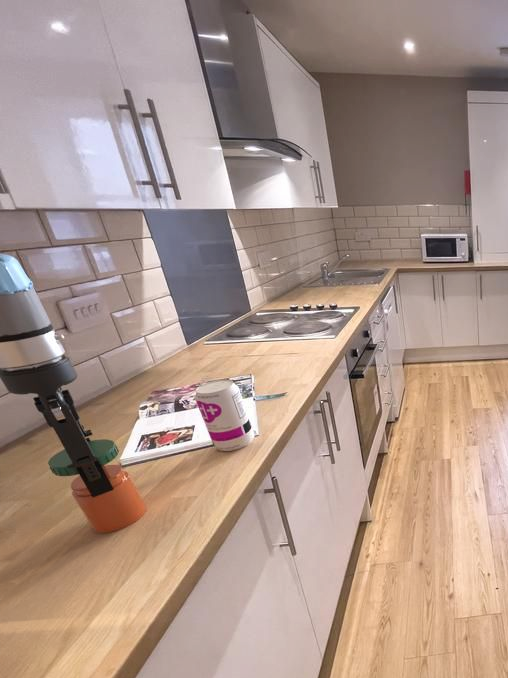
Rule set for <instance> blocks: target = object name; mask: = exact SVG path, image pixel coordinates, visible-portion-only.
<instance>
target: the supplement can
mask: <svg viewBox="0 0 508 678" xmlns="http://www.w3.org/2000/svg"><path fill="white" fill-rule="evenodd" d="M194 400H195V402H196V404H197V407H198V410H199V412H200V416H201V418H202V420H203V422H204V425H205V428H206V430H207V433H208V436H209V437H210V441H211V442H212V445H213V448H214V449H216V450H218V451H222V452H232V451H237V450H239V449H240V450H241V449H242V448H244V447H246V446H248V445H249V444H250V443H252V441H253V439H254V438H255V432H254V428H253V426H252V423H251V420H250V417H249V414H248V411H247V409H246V406H245V403H244V400H243V396H242V392H241V391H240V388H239V386H238V385H237V384H235V383H234V381H233V380H232V379H218V380H212V381H209V382H205V383H203V384H202V385H199V386H198V387H197V388H196V389H195V396H194Z"/></svg>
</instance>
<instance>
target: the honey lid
mask: <svg viewBox="0 0 508 678" xmlns="http://www.w3.org/2000/svg"><path fill="white" fill-rule="evenodd" d="M88 444H89V446H90V448H91V450H92V452H93V454H94V455H96V456H97V458H98V460H99V462H100V464H101V466H106V465H108V464H109V463H111V462H112V461H114V460H115V459H116V458H117V457H118V456H119V452H120V451H119V448H118V446H117V444H116V442H114V441H113V440H111V439H106V438H105V439H104V438H103V439H93V440H91V441H88ZM47 464H48V466H49V470H50V471H51V473H52V474H53V475H55V476H57V477H72V476H77V475H78V476H79V473H78V471H77V470H76V468H75V467H74V468H71V469H69V468H68V465H71V464H72V461H71V459H70V457H69V456H68V454H67V452H66V450H65V448H64V449H62V450H61V451H58V452H57V453H55V454H54V455H52V456H51V457H50V458H49V459H48V461H47Z"/></svg>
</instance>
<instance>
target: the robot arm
mask: <svg viewBox="0 0 508 678" xmlns="http://www.w3.org/2000/svg"><path fill="white" fill-rule="evenodd" d="M64 340H65V336H64V335H63V334H62V333H58V334H56V331H55V329H54V326H53V325H52V323H51V320H50V318H49V316H48V314H47V312H46V310H45V308H44V306H43V304H42V302H41V299H40V298H39V296H38V294H37V292H36V290H35V288H34V283H33V281H32V280H31V279H30V278H29V277H28V275H27V274H26V272H25V270H24V269H23V267H22V266H21V264H20V262H19V260H18V259H17V258H15V257H14V256H12V255H9V254H5V253H0V380H1V382H2V384H3V385H4V387H5V388H6V390H7V392H9V393H11V394H12V395H18V396H19V395H21V396H23V395H29V394H33V395H35V394H36V395H37V396H35V397H33V398H32V399H33V401H34V406H35V407H36V409H37V411H38V412H39V413H41V414H42V416H43V418H44V419H45V420H44V421H46V423H47V425H48V427H50V428H53V431H54V432H55V434H56V435H57V438H58V439H59V441H60V443H61V445H62V447H63V448H64V449H65V450H66V452H67V454H68V456H69V457H70V459H71V461H72V464H71V465H68V468H69V469H71V468H74V467H75V468H76V470H77V471H78V473H79V474H78V476H80V477H81V478H82V480H83V482H84V483H85V485H86V487H87V489H88V490H89V492H90V494H91V496H92V497H96V496H99V495H101V494H104V493H106V492H109V491H112V490H114V488H113V486H112V484H111V482H110V481H109V479H108V477H107V475H106V473H105V471H104V469H103V468H102V466H101V464H100V462H99V460H98V458H97V456H96V455H94V454H93V452H92V450H91V448H90V446H89V444H88V441H92V440H91V439H90V437H91V436H93V435H94V434H93V431H92V430H91V429H87V430H85V426H84V425H82V423H81V421H80V418H81V417H80V415H79V413H78V411H77V407H76V406H75V401H74V398H73V396H72V394H71V392H70V390H69V389H64V390H63V388H62V387H63V386H67V385H70V384H71V383H73V382H74V381H76V380H77V379H78V373H77V371H76V369H75V367H74V365H73V362H72V361H71V359H70V357H68V356H66V355H64V354H65V353H66V350H65V349H64V347H63V344H62V343H61V342H60V341H64Z"/></svg>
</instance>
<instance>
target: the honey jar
mask: <svg viewBox="0 0 508 678" xmlns="http://www.w3.org/2000/svg"><path fill="white" fill-rule="evenodd" d="M102 468H103V469H104V471H105V473H106V475H107V477H108V479H109V481H110V482H111V484H112V486H113V488H114V490H112V491H109V492H106V493H104V494H101V495H99V496H96V497H92V496H91V494H90V492H89V490H88V489H87V487H86V485H85V483H84V482H83V480H82V478H81V477H80V475H78V476H76V477H75V478H74V479H73V480H72V481H71V482H70V488H71V491H72V492H71V496H72V497H73V499H74V500H75V502H76V503H77V505H78V507H79V508H80V510H81V512H82V514H83V515H84V517H85V518H86V521H87V522H88V523H89V526H90V527H91V528H92V530H93V531H94V532H95V533H97V534H98V533H99V534H108V533H112V532H117V531H119V530H122V529H125V528H126V527H129V526H131V525H132V524H134V523H135V522H137V521H138V520H140V519H141V518H142V517H143V516H144V514H145V513H146V511H147V506H146V504H145V503H144V500H143V499H142V496H141V495H140V493H139V491H138V489H137V487H136V485H135V483H134V482H133V479H132V478H131V476H130V474H129V472H128V471H126V470H124V469H123V467H122V466H121V465H120V464H106V465H104V466H102Z"/></svg>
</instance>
